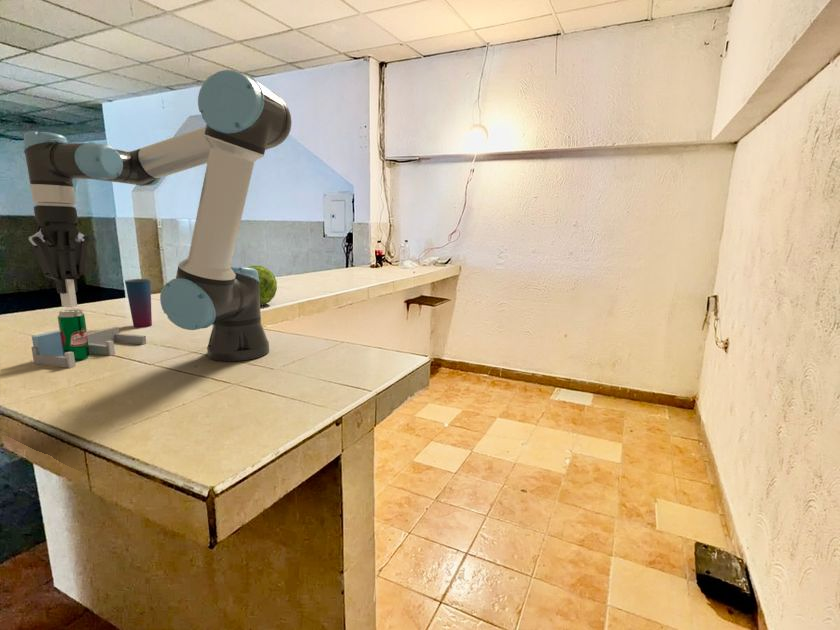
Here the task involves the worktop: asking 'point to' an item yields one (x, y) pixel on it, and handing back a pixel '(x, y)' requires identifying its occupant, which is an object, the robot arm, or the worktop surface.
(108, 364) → the worktop surface
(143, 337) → the three-post can rack
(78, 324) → the soda can
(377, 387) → the worktop surface
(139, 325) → the cup
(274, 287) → the green watermelon
